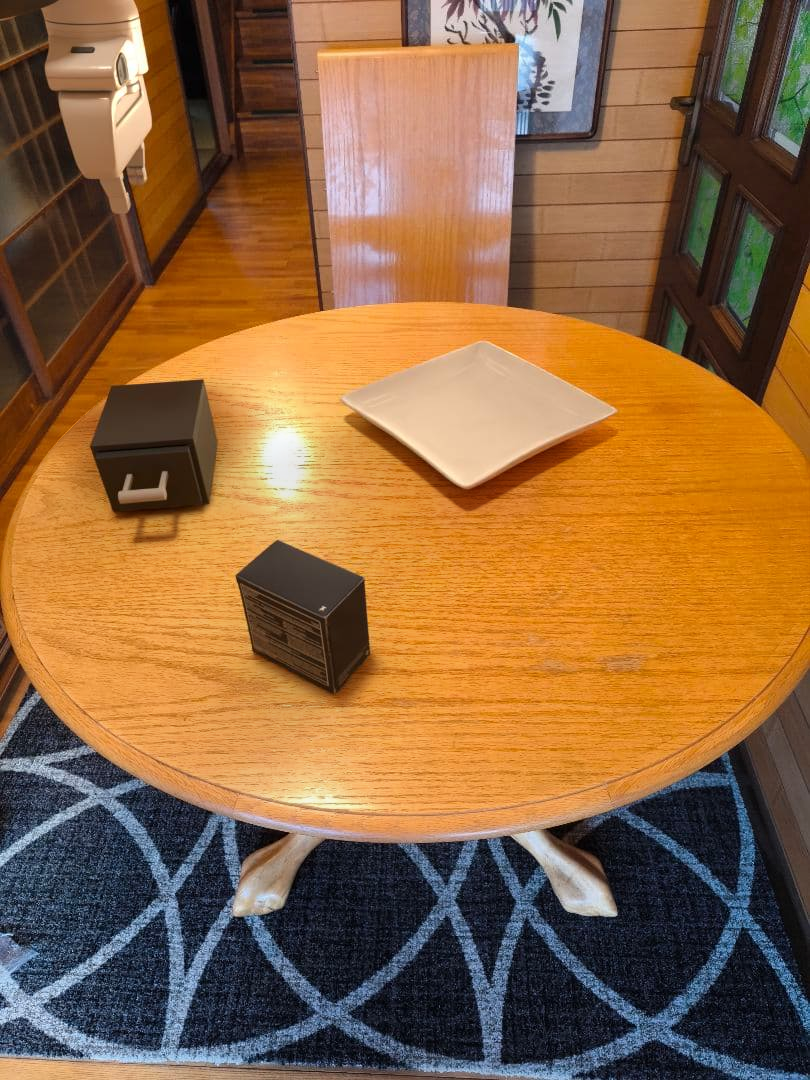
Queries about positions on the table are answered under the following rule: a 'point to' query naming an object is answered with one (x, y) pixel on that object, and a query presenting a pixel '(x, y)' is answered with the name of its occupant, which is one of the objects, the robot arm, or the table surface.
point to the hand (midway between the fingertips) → (130, 196)
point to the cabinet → (160, 423)
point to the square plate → (477, 411)
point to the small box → (305, 614)
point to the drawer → (150, 477)
